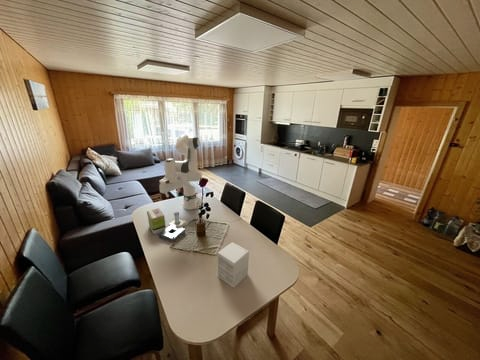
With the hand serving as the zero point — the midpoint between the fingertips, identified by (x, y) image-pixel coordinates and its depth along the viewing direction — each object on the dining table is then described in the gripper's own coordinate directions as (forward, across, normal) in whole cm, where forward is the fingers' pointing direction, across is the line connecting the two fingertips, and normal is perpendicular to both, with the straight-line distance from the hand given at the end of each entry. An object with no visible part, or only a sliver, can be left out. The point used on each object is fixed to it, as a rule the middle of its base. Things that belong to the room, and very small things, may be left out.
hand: (172, 195), depth 157 cm
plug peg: (+28, -1, +2) cm, 28 cm away
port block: (+28, +11, +11) cm, 32 cm away
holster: (+28, -1, +2) cm, 28 cm away
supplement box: (+30, +14, +72) cm, 80 cm away
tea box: (+28, +12, -8) cm, 32 cm away
